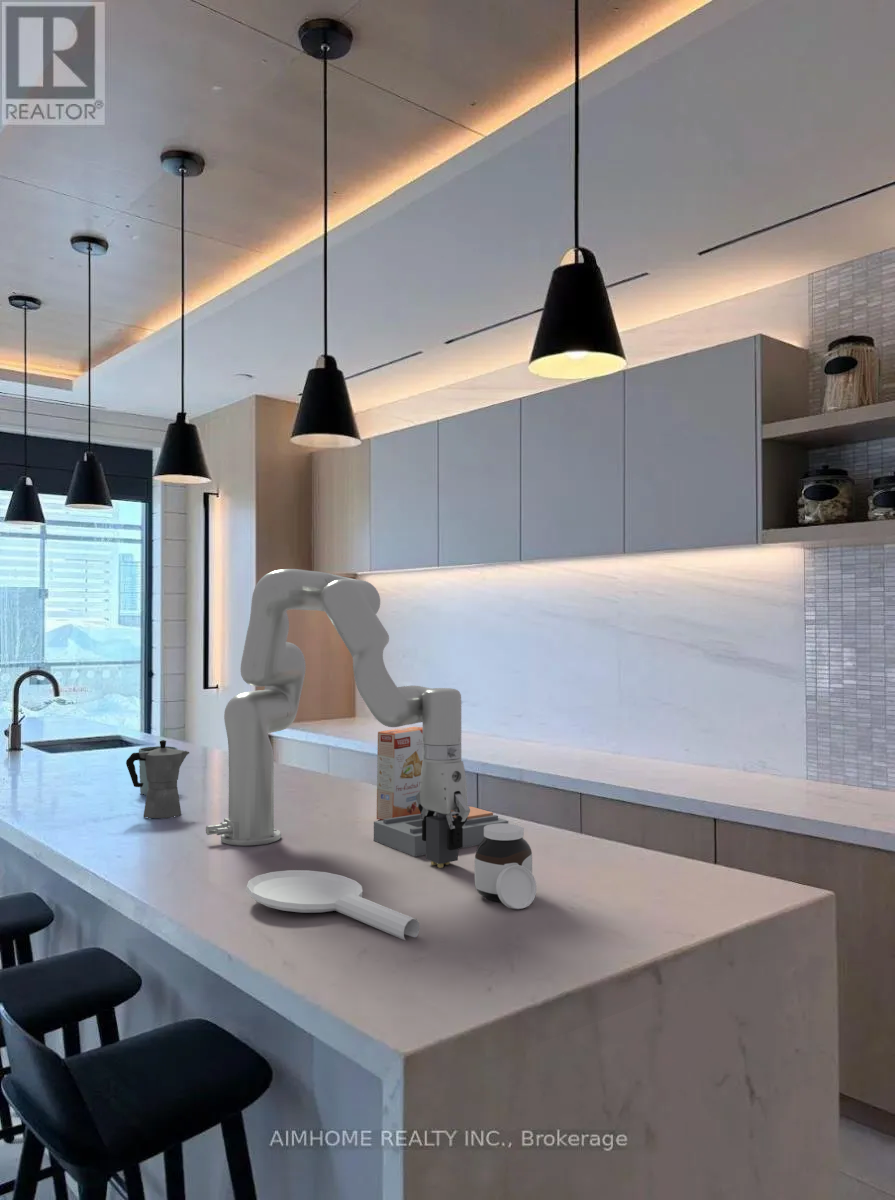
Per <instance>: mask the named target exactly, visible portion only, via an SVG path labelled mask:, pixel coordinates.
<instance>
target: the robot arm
mask: <svg viewBox="0 0 895 1200" xmlns="http://www.w3.org/2000/svg"><path fill="white" fill-rule="evenodd" d="M380 607H381V596H380V593H379V592H378V589H377V588H376V587H375V586H374V584H372V583H371V582H368V581H366V580H363V579H357V578H356V579H355V578H352V577H346V576H342V575H337V574H335V573H334V574H333V573H328V572H324V571H316V570H307V569H297V568H283V569H277V570H276V569H275V570H273V571H270V572H269V573H266V574H264V575H263V576H261V578H260V579H259V580H258V582H257V583H256V585H255V586H254V589H253V592H252V596H251V604H250V614H249V615H250V616H249V622H248V627H247V630H246V636H245V641H244V646H243V650H242V651H243V652H242V655H241V656H242V657H241V661H240V662H241V663H240V676H241V678H242V680H243V681H244V682H245V683H246V684H247V685H249V686H253V687H264V689H261V690H260V689H258V690H251V691H243V692H241V693H238V694H236V695H235V696H233V697H232V698H230V700H229V701H228V702H227V704H226V706H225V708H224V716H223V717H224V719H223V720H224V726H225V732H226V735H227V736H226V737H227V745H228V747H227V748H228V817H225V818H223V821H222V822H220V824H212V825H211V824H210V825H206V826H205V833H206V835H207V836H212V835H216V836H220V841H221V843H223V844H226V845H231V846H238V847H239V846H240V847H242V846H246V847H247V846H248V847H249V846H261V845H267V844H272V843H274V842H277V841H278V840H281V837H282V833H281V830H279V829H276V828H275V826H274V824H275V823H274V821H275V820H274V819H275V814H274V813H275V812H274V811H275V809H274V808H275V800H274V799H275V754H274V748H273V745H272V743H271V740H270V736H269V734H271V733H277V732H281V731H284V730H286V729H288V728H289V727H291V725H293V723H294V721H295V720H296V717H297V714H298V711H299V705H300V701H301V700H300V699H301V696H302V691H303V686H304V681H305V675H306V670H307V669H306V665H307V664H306V659H305V656H304V653H303V652H302V650H301V648H300V647H299V646H297V645H296V644H295V643H292V642H289V641H288V640H287V639H288V635H289V630H290V622H289V621H290V620H289V616H288V613H287V611H290V610H291V611H292V610H299V611H320V612H324V613H325V614H326V616H327V617H328V620H330V622H331V624H332V625H333V627H334V629H335V630H336V632H337V633H338V636H339V637H340V638H341V641H343V643H344V645H345V646H346V648H347V650H348V652H349V653H350V655H351V657H352V668H353V669H352V670H353V676H354V681H355V684H356V688H357V690H358V691H357V692H358V693H359V694H360V696H361V699H362V700H363V701H364V703H365V705H366V707H367V708H368V709H369V711H370V713H371V714H372V715H373V717H374V719H376V720H377V722H379V724H381V725H383V726H384V727H388V728H398V727H403V726H408V725H414V724H419V723H422V727H423V761H422V768H421V779H420V792H419V793H418V794H417V795H416V800H417V803H418V805H419V806H418V808H419V810H420V813H421V815H420V818H421V819H422V840H423V841H426V817H431V816H435V815H436V813H440V814H443V815H446V818H447V821H448V824H449V827H450V828H448V829H447V849H448V850H455V849H458V850H459V849H460V850H461V849H463V848H462V847H463V827H464V826H465V822H466V821H467V817H468V815H469V813H470V808H469V807H470V806H469V805H468V791H467V790H468V789H467V786H468V785H467V778H466V769H465V766H464V761H462V694H461V692H460V691H459V690H458V689H456V688H451V687H436V688H435V687H434V688H430V687H426V686H421V685H406V686H405V685H403V686H397V684H395V682H394V680H393V678H392V677H391V676H390V673H389V671H388V670H387V667H386V666H385V662H384V650H385V648H386V647H387V645H388V644H389V641H390V636H389V633H388V631H387V630H386V628H385V627H384V625H383V623H382V622H381V620H380V619H379V617H378V616H377V614H378V613H379V610H380ZM451 810H453V811H451ZM452 816H456V818H455V820H453V817H452Z"/></svg>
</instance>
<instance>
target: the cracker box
mask: <svg viewBox="0 0 895 1200" xmlns="http://www.w3.org/2000/svg"><path fill="white" fill-rule="evenodd" d="M376 757H377V760H376V761H377V762H376V763H377V765H376V766H377V767H376V768H377V769H376V774H377V775H376V820H379V821H381V820H383V819H388V818H395V817H402V816H408V815H415V814H421V813H420V810H419V808H418V806H419V805H418V803H417V800H416V795H417V794H418V793H419V792H420V779H421V768H422V761H423V726H409V727H402V728H397V729H396V728H395V729H389V730H380V731H377V756H376Z"/></svg>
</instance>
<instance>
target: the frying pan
mask: <svg viewBox="0 0 895 1200" xmlns="http://www.w3.org/2000/svg"><path fill="white" fill-rule="evenodd" d="M246 893H247V894H248V895H249V896H250V898H252V899H253V900H254V901H256V903H258V904H260V905H263V906H265V907H267V908H272V909H276V910H280V911H286V912H293V913H294V912H295V913H302V914H303V913H306V914H307V913H309V914H310V913H326V912H333V911H334V912H335V911H336V912H338V913H340V914H343V915H345V916H347V917H348V918H349V917H350V918H352V919H354V920H357V921H359V922H361V923H364V924H366V925H368V926H370V927H373V928H375V929H377V930H380V931H382V932H385V933H387V934H389V935H391V936H393V937H396V938H397V939H398V938H399V939H401V940H403V941H405V942H406V941H407V940H406V938H405V936H409V937H412V938H417V937H418V935H419V933H420V922H419V920H418V919H416V918H414V917H412V916H410V915H407V914H404V913H401V912H400V911H397V910H395V909H393V908H390V907H387V906H384V905H382V904H379V903H377V902H374V901H372V900H369V899H367V898H364V897H363V885H362V884H360V883H359V882H357V880H354V879H353V878H349V877H346V876H344V875H340V874H336V873H332V872H327V871H317V870H308V869H307V870H306V869H305V870H303V869H301V870H300V869H298V870H297V869H295V870H294V869H292V870H291V869H290V870H289V869H288V870H278V871H271V872H267V873H263V874H258V875H256V876H254V877H251V878H250V879H249V880H248V882H247V885H246Z"/></svg>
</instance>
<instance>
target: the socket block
mask: <svg viewBox="0 0 895 1200" xmlns="http://www.w3.org/2000/svg"><path fill="white" fill-rule="evenodd" d="M420 815H421V814H415V815H408V816H402V817H395V818H388V819H383V820H375V821H373V842H374V841H375V842H376V843H380V844H381V845H384V846H387V847H390V848H391V849H395V850H396V851H397V850H398V851H400V852H402V853H405V854H406V855H410V856H412V857H414V858H415V857H421V856H426V841H423V840H422V819H421V818H420ZM437 815H438V813H436V815H435V816H437ZM497 823H508V824H509V820H507V819H503V818H499V815H496V814H493V815H492V816H485V817H479V818H473V819H467V821H466V822H465V826H464V827H463V847H462V848H461V849H464V848H465V849H466V848H470V847H475V846H479V844H480V843H481V841H482V840H483V839H484V838H485V837H484V827H485V826H486V825H490V824H497Z"/></svg>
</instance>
